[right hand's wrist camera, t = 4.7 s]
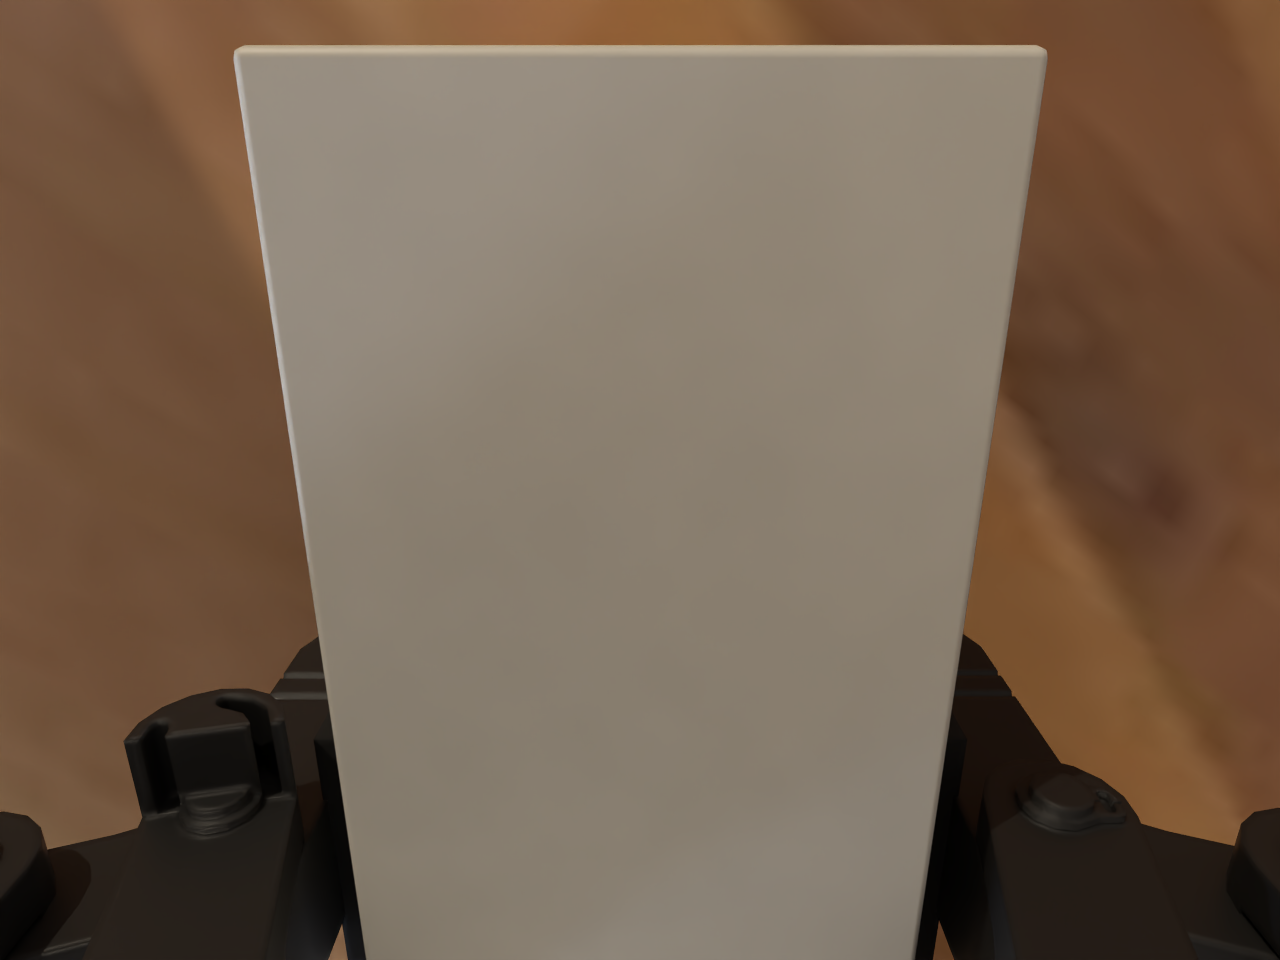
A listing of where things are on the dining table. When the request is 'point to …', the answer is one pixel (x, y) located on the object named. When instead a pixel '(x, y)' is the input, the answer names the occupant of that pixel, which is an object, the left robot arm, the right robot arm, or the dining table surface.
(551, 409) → the bar
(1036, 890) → the right robot arm
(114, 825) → the dining table surface
